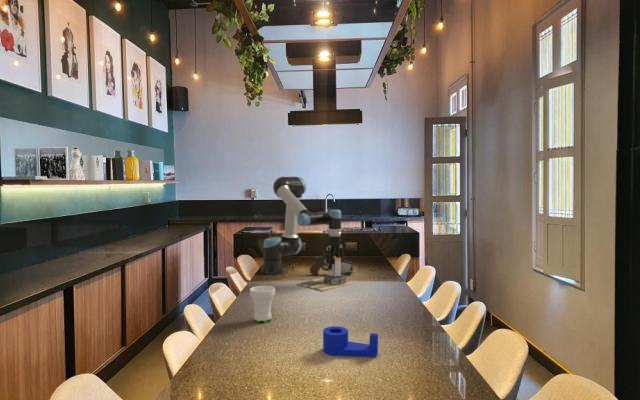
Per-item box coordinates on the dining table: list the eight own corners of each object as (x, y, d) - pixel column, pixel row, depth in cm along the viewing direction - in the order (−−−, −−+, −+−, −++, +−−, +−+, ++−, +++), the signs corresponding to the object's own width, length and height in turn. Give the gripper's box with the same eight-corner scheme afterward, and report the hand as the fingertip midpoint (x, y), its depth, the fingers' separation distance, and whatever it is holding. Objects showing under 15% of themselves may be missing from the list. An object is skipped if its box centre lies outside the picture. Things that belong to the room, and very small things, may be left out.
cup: (254, 326, 181) (254, 293, 181) (246, 318, 191) (246, 287, 190) (279, 322, 186) (279, 289, 186) (270, 315, 196) (270, 284, 196)
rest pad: (300, 283, 254) (300, 282, 254) (311, 280, 260) (311, 280, 260) (310, 286, 247) (310, 285, 247) (321, 283, 254) (321, 282, 254)
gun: (349, 285, 278) (355, 263, 277) (308, 273, 278) (314, 251, 277) (348, 283, 283) (355, 261, 282) (308, 271, 283) (315, 250, 282)
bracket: (320, 355, 152) (320, 333, 151) (326, 345, 160) (326, 325, 160) (376, 360, 147) (376, 338, 147) (378, 350, 156) (378, 329, 156)
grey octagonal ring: (319, 282, 256) (319, 276, 256) (334, 278, 266) (334, 273, 265) (335, 286, 247) (335, 280, 247) (350, 282, 256) (350, 276, 256)
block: (335, 281, 253) (335, 258, 252) (328, 280, 256) (329, 257, 256) (340, 280, 256) (340, 257, 256) (334, 279, 260) (334, 256, 259)
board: (296, 284, 254) (296, 283, 254) (327, 277, 272) (327, 276, 272) (323, 291, 238) (323, 290, 238) (353, 283, 256) (353, 282, 256)
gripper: (328, 237, 246) (328, 277, 247) (349, 234, 259) (349, 272, 260) (319, 236, 252) (319, 275, 253) (340, 233, 264) (340, 271, 265)
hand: (334, 274), depth 256 cm, fingers closed on block, 5 cm apart
